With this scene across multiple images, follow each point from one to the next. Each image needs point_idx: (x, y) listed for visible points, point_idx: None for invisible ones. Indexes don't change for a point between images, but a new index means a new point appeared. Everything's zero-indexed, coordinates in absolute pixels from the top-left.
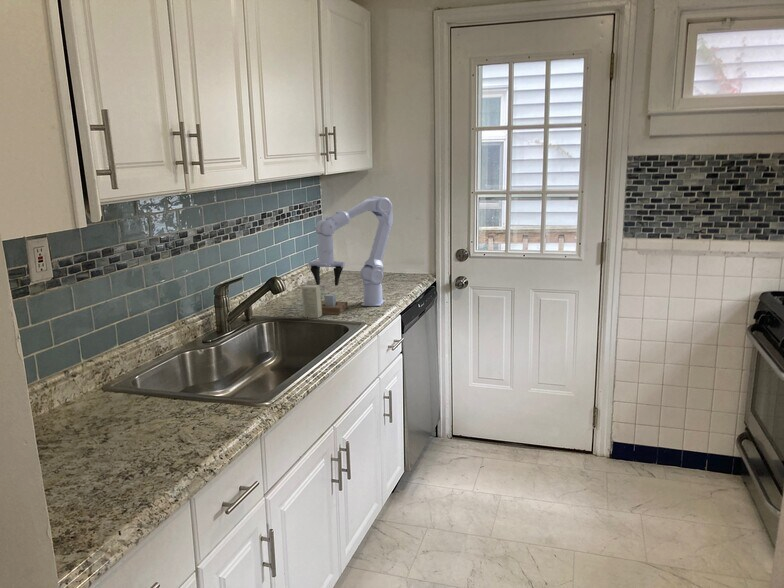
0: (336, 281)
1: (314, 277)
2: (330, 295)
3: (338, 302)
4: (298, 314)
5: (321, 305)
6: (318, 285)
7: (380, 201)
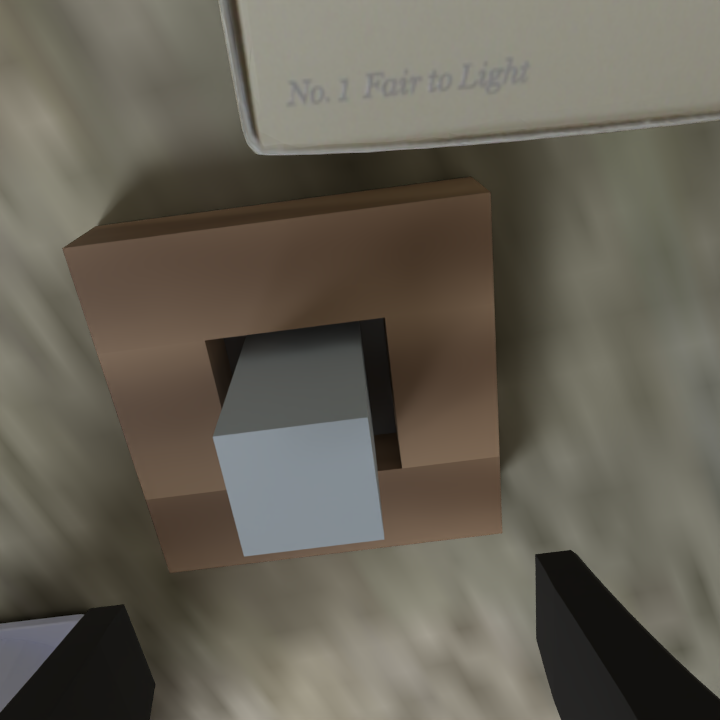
0: (26, 686)
1: (715, 696)
2: (275, 464)
3: None
4: None
5: (407, 333)
6: (256, 43)
7: None
